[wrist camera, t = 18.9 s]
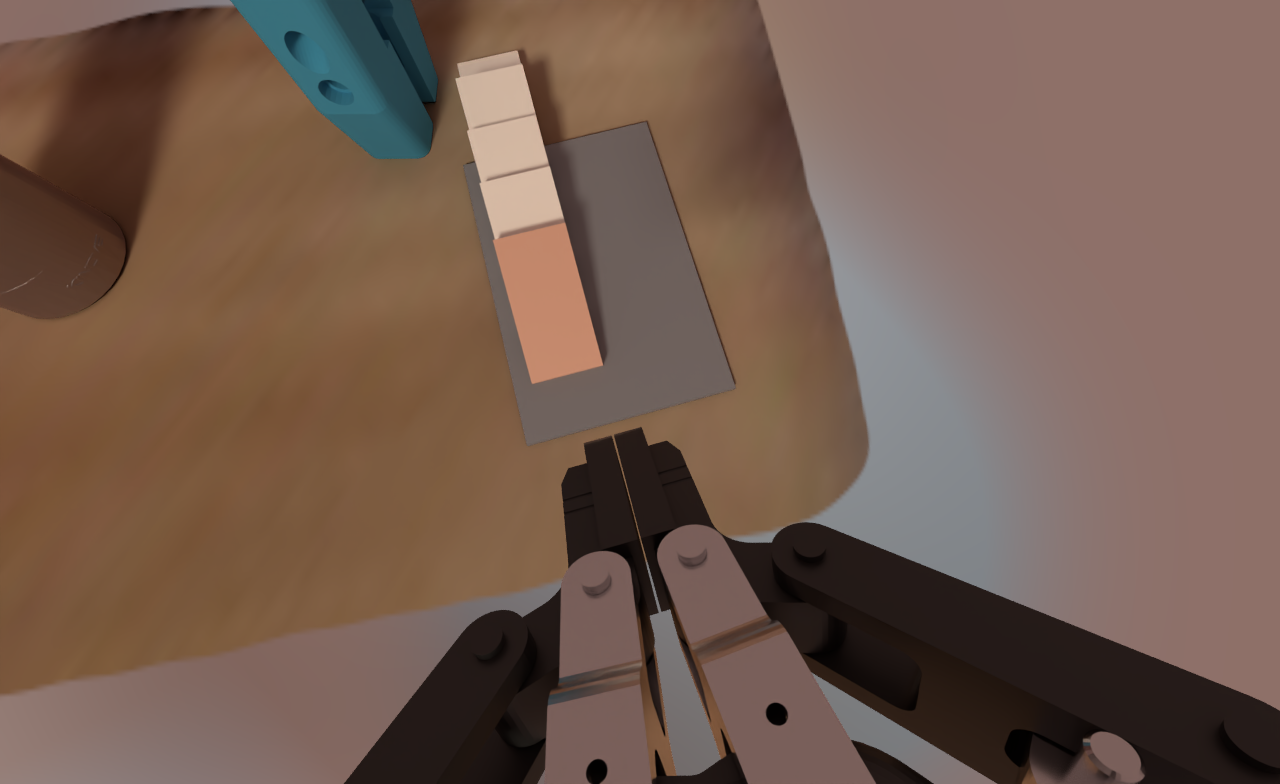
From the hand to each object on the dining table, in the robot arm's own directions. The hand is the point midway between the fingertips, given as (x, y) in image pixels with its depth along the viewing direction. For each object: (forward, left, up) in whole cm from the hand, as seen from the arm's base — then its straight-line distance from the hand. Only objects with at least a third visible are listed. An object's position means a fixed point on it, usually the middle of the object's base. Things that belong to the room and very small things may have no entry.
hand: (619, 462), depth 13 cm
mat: (-7, +15, -22) cm, 28 cm away
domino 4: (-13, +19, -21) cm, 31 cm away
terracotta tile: (-6, +7, -21) cm, 23 cm away
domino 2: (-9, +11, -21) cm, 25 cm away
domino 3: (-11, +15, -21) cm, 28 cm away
